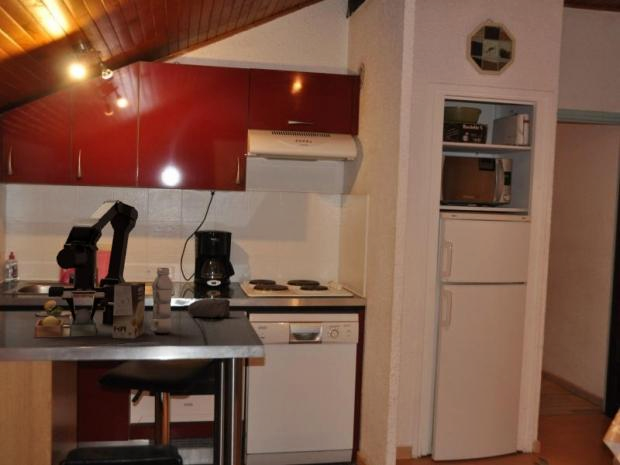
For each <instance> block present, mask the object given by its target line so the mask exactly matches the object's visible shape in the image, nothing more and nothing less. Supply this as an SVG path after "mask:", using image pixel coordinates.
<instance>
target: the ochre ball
mask: <svg viewBox="0 0 620 465" xmlns="http://www.w3.org/2000/svg"><path fill="white" fill-rule="evenodd" d="M57 319H58V318H57V317H53V316H49V317H44V319H42V320H43V322H42V326H58V320H57Z"/></svg>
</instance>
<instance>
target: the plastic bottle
mask: <svg viewBox="0 0 620 465" xmlns="http://www.w3.org/2000/svg"><path fill="white" fill-rule="evenodd" d="M169 275H170V268H169V267H157V268H156V278H154V281H153V282H152V284H151V290H152V291H151V292H152V303H153V304H152V306H153V307H152V308H153V309H152V316H151V319H150V320H151V321H150V330H151V331H152V332H153V333H154V334H159V333H160V334H159V335H162V334H163V333H164V334H167V333H168V334H169V333H170V332H171V330H172V329H173V320H172V319H173V318H172V312H171V310H172V308H171V307H172V306H171V305H172V304H171V303H172V295H173V290H174V283H173V280H172V279H171V278H170V277H169ZM164 334H163V335H164Z"/></svg>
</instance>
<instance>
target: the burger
mask: <svg viewBox="0 0 620 465" xmlns="http://www.w3.org/2000/svg"><path fill="white" fill-rule="evenodd" d="M43 308H44V311H38V312H36V313H35V316H34V317H35V318H43V317H44V318H46V317H49V316H53V317H55V318H61V317H69V316H72V313H71V311H68V310H64V308H62V307H61V306H59V305H58V304H57V302H56V301H55V300H48V299H46V302H45V303H44V305H43Z"/></svg>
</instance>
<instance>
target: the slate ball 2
mask: <svg viewBox="0 0 620 465" xmlns="http://www.w3.org/2000/svg"><path fill="white" fill-rule="evenodd" d="M75 325H91V320H90V321H89V322H88V323H86V324H80V323H78V322H77V321H76V322H75Z"/></svg>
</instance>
